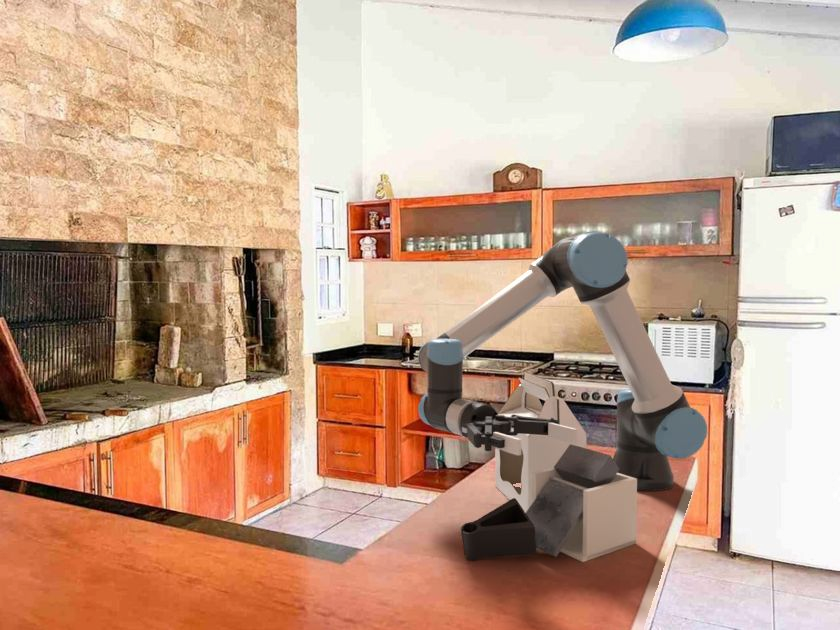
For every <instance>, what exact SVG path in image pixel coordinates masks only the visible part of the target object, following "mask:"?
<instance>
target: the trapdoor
mask: <svg viewBox="0 0 840 630" xmlns="http://www.w3.org/2000/svg"><path fill="white" fill-rule="evenodd" d="M554 468H555V470H556V471H557V473H558V474H559V475H560V477H561V478H562V480H565V481H568V482H571V483H574V484H577V485H580V486H583V487H585V488H588V489H590V488H594V487H598V486H601V485H605V484H609V483H610V482H611V481H612V479H613V478H614V476H615V475H616V473H617V472H618V470H619V468H618V466H617V465H616V463H615V462H614V460H613V457H612V456H611V454H607V453H604V452H600V451H596V450H593V449H590V448H587V447H586V448H582V447H579V446H575V445H572V444H570V445H569V447H568V448H567V449H566V451H565V452H564V453H563V455H562V456H561V458H560V459H559V460H558V462H557V463H556V465H555V466H554ZM526 514H527V516H528V517H529V519H530V520H531V522H532V523H533V524H534V526H535V537H536V549H538V550H540V551H543V552H544V553H547V554H549V555H551V556H553V557H555V558H557V556H559V554H560V553H561V552H560V551H561V549H562V548H563V546H564V545H565V543H566V542H567V540H568V539H569V537H570V536H571V534H572V533H573V531H574V530H575V528H576V527H577V525H578V524H579V522H580V521H581V519H582V518H583V492H582V491H579V490H576V489H574V488H571V487H568V486H565V485H562V484H559V483H556V482H554V481H551V480H549V481H548V482H547V484H546V485H545V487H544V488H543V489H542V491H541V492H540V494H539V495H538V496H537V498H536V499H535V501H534V502H533V503H532V505H531V506H530V508H529V509H528V510H527V512H526Z"/></svg>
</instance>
